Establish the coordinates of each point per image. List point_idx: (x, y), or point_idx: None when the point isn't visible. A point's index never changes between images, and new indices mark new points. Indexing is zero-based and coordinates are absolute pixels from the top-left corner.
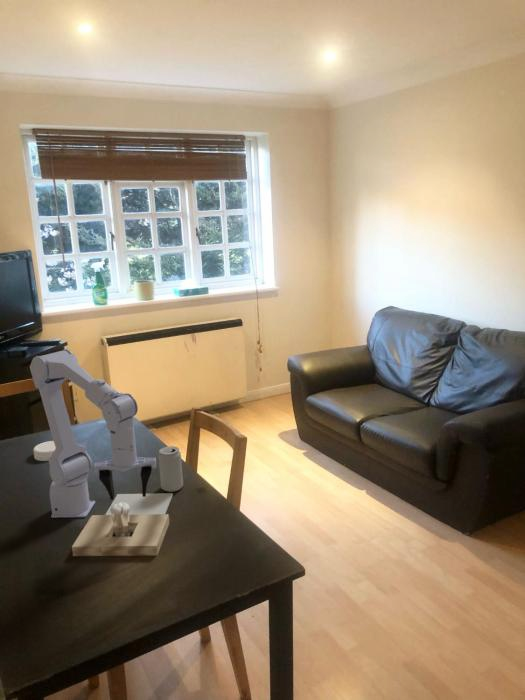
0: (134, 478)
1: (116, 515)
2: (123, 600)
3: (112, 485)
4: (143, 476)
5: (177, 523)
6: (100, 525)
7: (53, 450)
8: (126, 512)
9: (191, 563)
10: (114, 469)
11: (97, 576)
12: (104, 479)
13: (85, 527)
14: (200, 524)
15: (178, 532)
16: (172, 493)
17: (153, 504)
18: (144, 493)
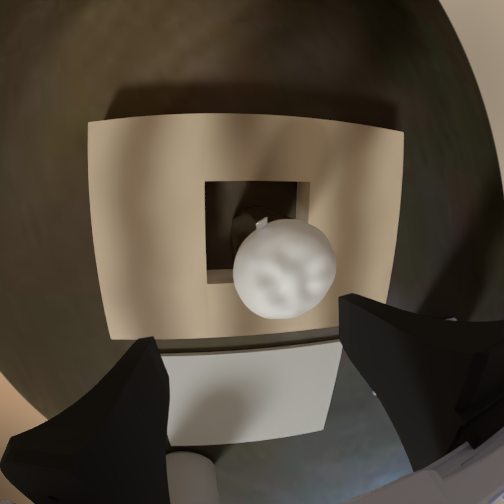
0: (293, 475)
1: (290, 218)
2: None
3: (377, 373)
4: (64, 439)
5: (92, 318)
6: (348, 261)
7: None
8: (241, 244)
9: (5, 104)
10: (476, 465)
11: (277, 23)
12: (492, 333)
13: (391, 247)
14: (29, 309)
15: (70, 266)
16: (171, 445)
17: (206, 405)
18: (134, 347)
